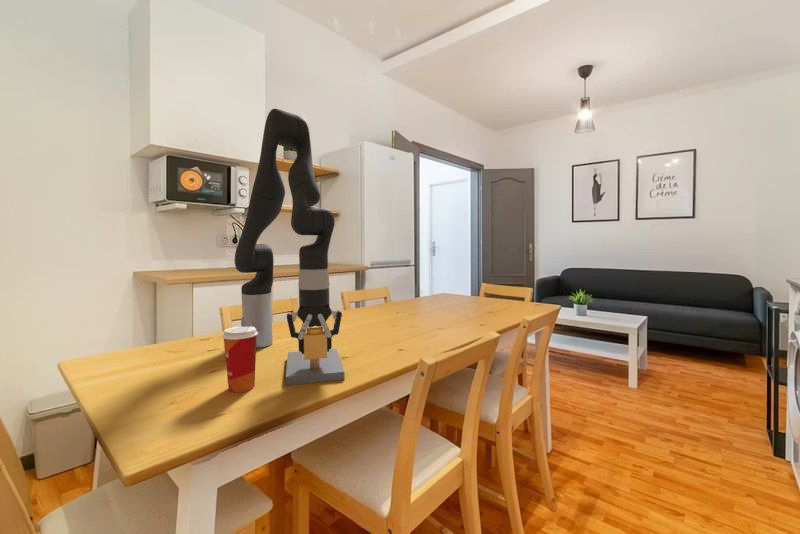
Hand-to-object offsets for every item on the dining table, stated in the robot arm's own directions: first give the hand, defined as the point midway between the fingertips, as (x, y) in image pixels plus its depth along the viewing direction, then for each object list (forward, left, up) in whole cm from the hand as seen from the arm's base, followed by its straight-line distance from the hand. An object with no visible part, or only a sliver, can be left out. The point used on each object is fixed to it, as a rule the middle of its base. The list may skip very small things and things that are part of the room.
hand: (315, 351), depth 95 cm
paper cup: (-17, -4, -6) cm, 19 cm away
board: (0, +5, -6) cm, 8 cm away
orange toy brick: (0, 0, -1) cm, 1 cm away
